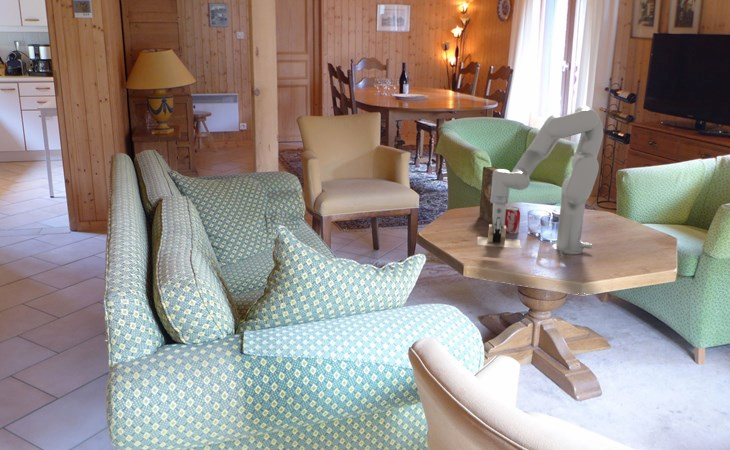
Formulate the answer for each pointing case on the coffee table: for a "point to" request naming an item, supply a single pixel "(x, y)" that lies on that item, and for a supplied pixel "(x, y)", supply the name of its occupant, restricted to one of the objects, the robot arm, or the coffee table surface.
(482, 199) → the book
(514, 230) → the soda can
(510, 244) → the board
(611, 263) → the coffee table surface
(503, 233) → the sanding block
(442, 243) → the coffee table surface
